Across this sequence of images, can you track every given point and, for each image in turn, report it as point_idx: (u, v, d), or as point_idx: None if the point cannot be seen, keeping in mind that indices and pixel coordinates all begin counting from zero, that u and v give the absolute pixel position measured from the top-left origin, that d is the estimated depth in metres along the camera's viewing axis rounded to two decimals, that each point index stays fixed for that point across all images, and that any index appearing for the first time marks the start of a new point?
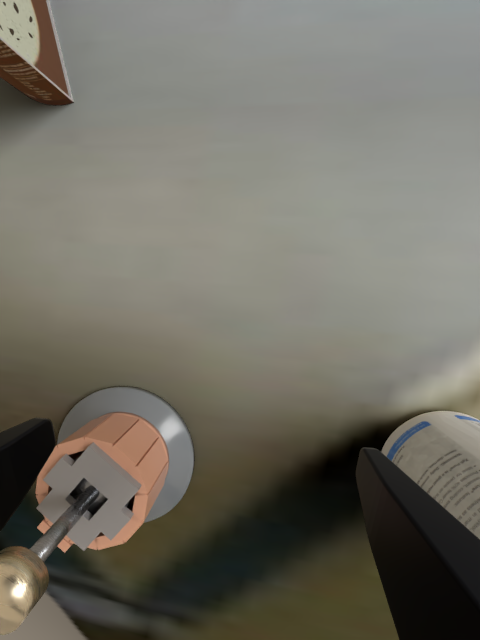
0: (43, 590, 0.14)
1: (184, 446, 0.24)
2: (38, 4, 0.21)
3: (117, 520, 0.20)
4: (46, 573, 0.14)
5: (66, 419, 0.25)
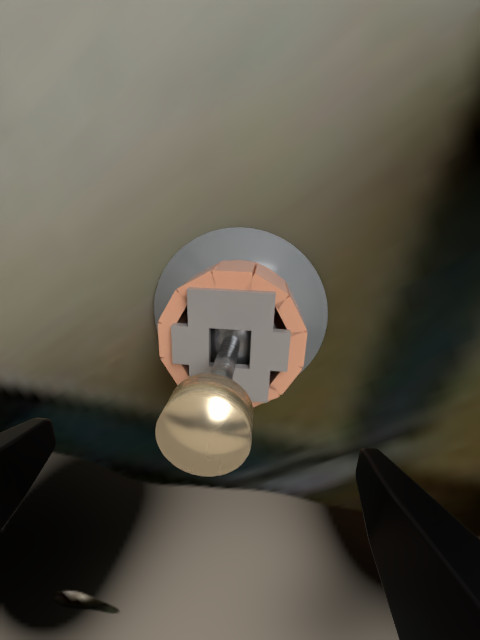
0: (249, 403, 0.10)
1: (291, 255, 0.18)
2: None
3: (277, 345, 0.15)
4: (237, 385, 0.10)
5: (157, 325, 0.21)
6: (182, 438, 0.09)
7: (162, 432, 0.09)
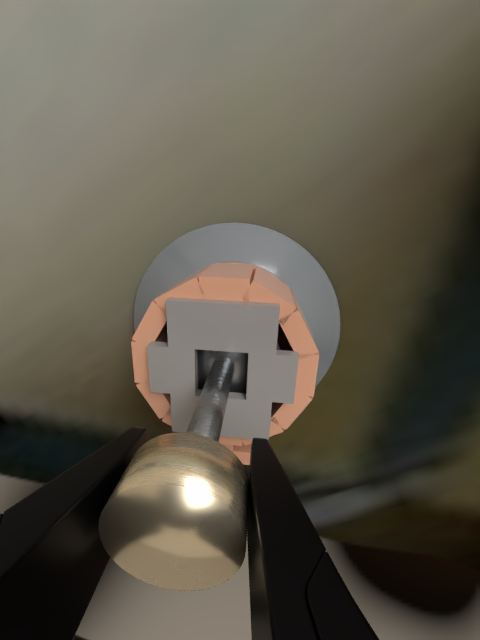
0: (243, 478, 0.07)
1: (297, 257, 0.15)
2: None
3: (281, 371, 0.12)
4: (226, 450, 0.07)
5: None
6: (140, 539, 0.06)
7: (109, 531, 0.06)
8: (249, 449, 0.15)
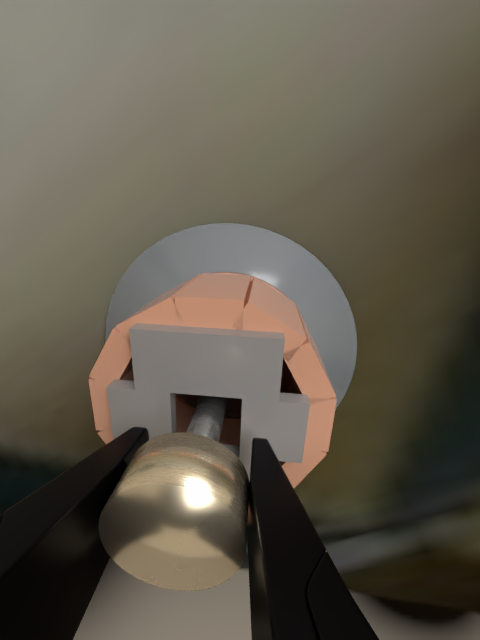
0: (243, 478, 0.07)
1: (304, 265, 0.12)
2: None
3: (286, 422, 0.09)
4: (226, 450, 0.07)
5: None
6: (141, 540, 0.06)
7: (109, 531, 0.06)
8: None
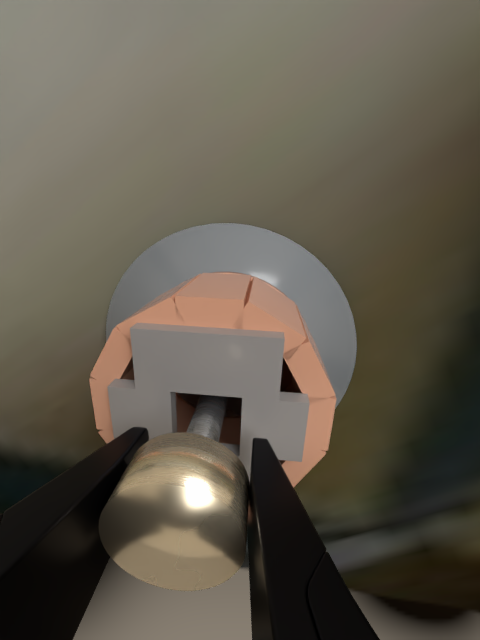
0: (243, 478, 0.07)
1: (304, 265, 0.12)
2: None
3: (286, 421, 0.09)
4: (226, 450, 0.07)
5: None
6: (141, 539, 0.06)
7: (109, 531, 0.06)
8: None
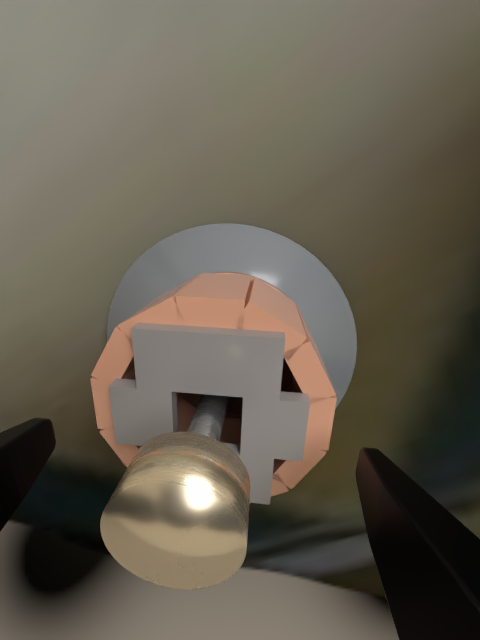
0: (244, 477, 0.07)
1: (305, 265, 0.12)
2: None
3: (286, 421, 0.09)
4: (227, 449, 0.07)
5: None
6: (142, 538, 0.06)
7: (111, 529, 0.06)
8: None
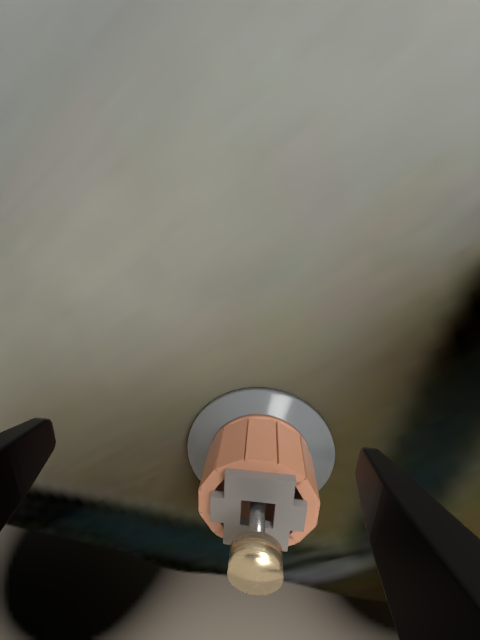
0: (280, 550, 0.16)
1: (305, 413, 0.22)
2: None
3: (296, 514, 0.19)
4: (273, 538, 0.16)
5: (190, 457, 0.25)
6: (243, 576, 0.16)
7: (231, 573, 0.16)
8: None
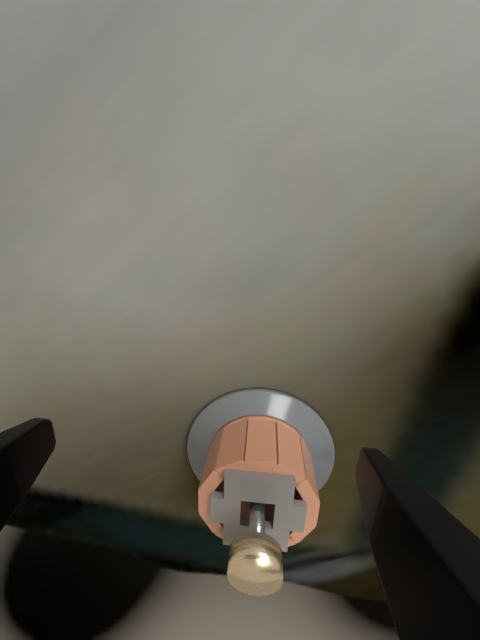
0: (280, 550, 0.16)
1: (304, 413, 0.22)
2: None
3: (296, 515, 0.19)
4: (273, 539, 0.16)
5: (189, 457, 0.25)
6: (243, 577, 0.16)
7: (231, 573, 0.16)
8: None
